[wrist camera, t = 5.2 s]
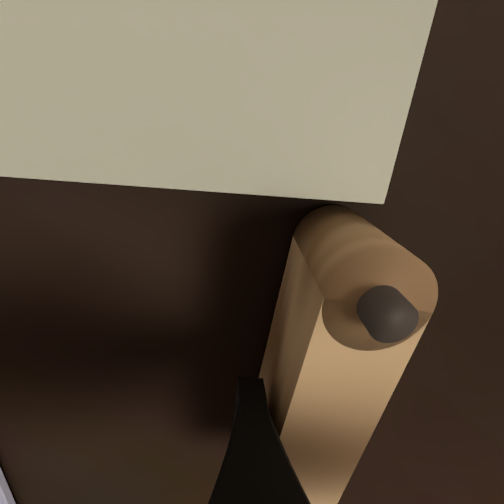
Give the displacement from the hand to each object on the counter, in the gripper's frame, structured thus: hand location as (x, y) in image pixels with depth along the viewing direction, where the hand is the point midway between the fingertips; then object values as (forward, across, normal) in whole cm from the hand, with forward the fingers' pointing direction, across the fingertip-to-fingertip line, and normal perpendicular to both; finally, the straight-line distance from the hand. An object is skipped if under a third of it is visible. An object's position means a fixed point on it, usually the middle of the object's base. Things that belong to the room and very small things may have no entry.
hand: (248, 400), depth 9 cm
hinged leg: (+2, -2, -1) cm, 3 cm away
